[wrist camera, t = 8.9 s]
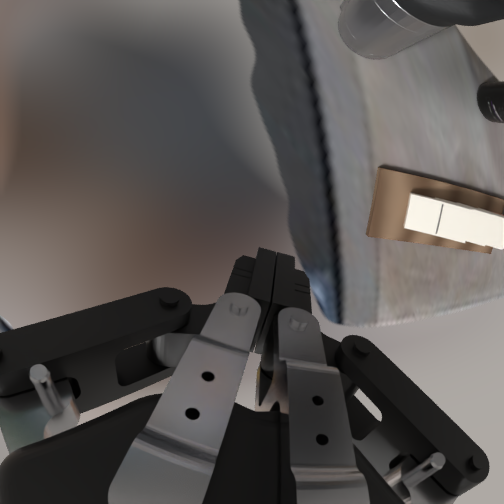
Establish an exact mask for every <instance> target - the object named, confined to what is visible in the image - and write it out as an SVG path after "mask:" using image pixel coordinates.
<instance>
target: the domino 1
mask: <svg viewBox="0 0 504 504" xmlns="http://www.w3.org/2000/svg"><path fill="white" fill-rule="evenodd" d="M472 213H473V210H472V209H471V208H468V207H465V206H461V205H457V204H454V203H450V202H446V201H443V200H439V199H435V198H431V197H427V196H423V195H419V194H415V193H411V192H410V195H409V201H408V206H407V211H406V216H405V221H404V228H406V229H410V230H415V231H419V232H423V233H427V234H431V235H435V236H439V237H443V238H447V239H450V240H454V241H458V242H462V243H465V241H466V238H467V234H468V230H469V226H470V222H471V218H472Z"/></svg>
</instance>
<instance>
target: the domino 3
mask: <svg viewBox="0 0 504 504" xmlns="http://www.w3.org/2000/svg"><path fill="white" fill-rule="evenodd" d="M457 203H458V202H457ZM458 204H461V203H458ZM462 205H465V204H462ZM465 206H468V205H465ZM469 207H471V206H469ZM472 208H474V207H472ZM476 209H478V208H476ZM479 210H481V209H479ZM482 211H484V210H482ZM486 212H487V211H486ZM489 213H490V212H489ZM491 214H492V215H493V218H492V222H491V226H490V230H489V234H488V238H487V241H486V245H488V246H491V247H494V248H497V249H501V250H502V249H503V246H504V217H502V216H499V215H496V214H493V213H491Z"/></svg>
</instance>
